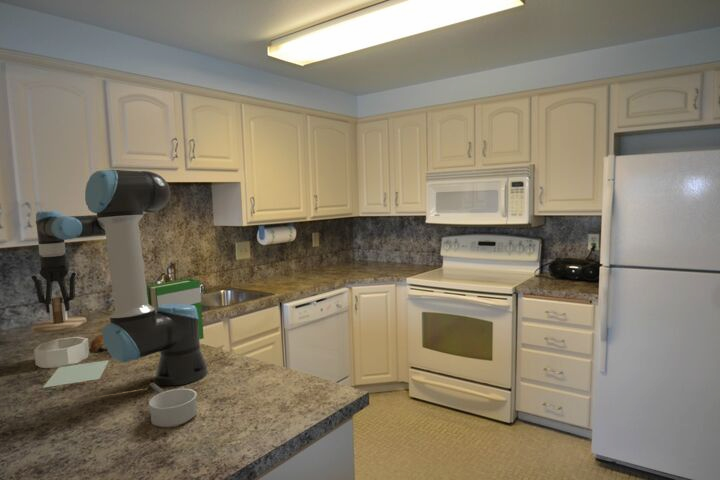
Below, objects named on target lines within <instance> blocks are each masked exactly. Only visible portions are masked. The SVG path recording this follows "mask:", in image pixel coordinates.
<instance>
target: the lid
mask: <svg viewBox="0 0 720 480" xmlns="http://www.w3.org/2000/svg"><path fill="white" fill-rule="evenodd" d="M51 301H52V302H51V303H53V313H54V322H52V323H51V319H46V320H42V321H40V322H37V323H35V324H33V325H31V331H32V332H33V333H39V334H45V333H46V334H47V333H48V334H49V333H56V332H63V331H68V330H72V329H75V328H79V327H81V326H83V325H86V323H87V318H86V317H84V316H78V315H77V316H67V317H68V319H67V320H66V321H63V314H62V304H61V303H62V302H63V301H64V300H63V297H61V296H59V297H57V296H56V297H53V298H51Z"/></svg>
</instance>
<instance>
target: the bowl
mask: <svg viewBox="0 0 720 480" xmlns="http://www.w3.org/2000/svg"><path fill="white" fill-rule="evenodd" d="M33 351H34V360H35V361H34V363H35V366H38V367H39V368H42V369H54V368H55V369H56V368H59V367H64V366H71V365H75V364H77V363H80V362H83V361H84V360H86V359H87V358H88V357H89V354H90V347H89V338H87V337H82V336H72V337H64V338H58V339H53V340H50V341H46V342H43V343H40V344H38V346H36V347H35V348H34V349H33Z"/></svg>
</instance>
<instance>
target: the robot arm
mask: <svg viewBox="0 0 720 480" xmlns="http://www.w3.org/2000/svg"><path fill="white" fill-rule="evenodd" d="M84 191H85V192H84V199H85V203H86V204H85V205H86V206H87V209H88V211H90V213H94V214H91V215H90V214H89V215H66V216H63V214H62V212H61V211H60V210H47V211H43V210H41V211H37V212H36V213H35V224H36V225H35V226H36V234H37V240H38V241H37V242H38V252H39V254H38V255H39V256H40V257H39V261H40V262H39V263H40V270H39V273H36V274H33V275H32V276H31V280H32V281H33V282H34V286H35V290H36V295H37V300H38V303H39V304H44V305H45V309H46V310H45V311H46V313H47V314H49V315H50V316H49V317H50V320H51V323H52V322H54V313H53V303H52V299H53V298H52V295H53V284H54V282H57V284H58V286H59V288H60V289H59V290H60V293H61V296H62V300H63V302H62V303H61V304H62V314H63V321H66V320H67V319H68V317H69V316H68V312H69V311H70V310H71V306H70V305H71V304H70V301H73V300H74V299H75V298H76V279H77V278H76V277H77V275H78V271H71V270H70V269H69V268H68V264H67V262H68V261H67V256H66V243H65V241H66V240H73V239H80V238H90V237H103V236H105V240H106V247H107V248H106V249H107V254H108V262H109V263H108V265H109V273H110V281H111V288H112V294H113V303H114V310H113V311H112V312H111V313H110V315H109V320H110V321H109V322H108V323H107V324H106V325H104V326H103V330H102V334H103V340H104V343H105V346H106V348H107V350H108V351H107V352H108V353H109V354H110V356H111V357H112V358H113V359H114V360H115V361H117V362H120V363H127V362H130V361H137V360H139V359H141V358H144V357H147V356H150V355H153V354H156V353H160V356H159V361H158V364H157V368H156V371H155V380H156V382H157V384H160V385H162V386H168V387H169V386H181V385H186V384H190V383H194V382H196V381H199V380H201V379H202V378H204V377H205V376H206V375H208V365H207V362H206V360H205V357H204V355H203V353H202V351H201V345H200V344H201V343H200V341H201V340H200V339H199V327H198V319H199V318H198V314H197V309H196V307H195V306H193V305H190V304H164V305H159V306H158V307H157V309H156V311H157V312H156V313H155V308H154V307H152V306H151V305H149V304H148V293H147V282H146V274H145V273H146V272H145V266H144V258H143V251H142V250H143V248H142V242H141V235H140V225H139V222H140V221H141V219H142V218H143V217H144V215H145V214H147V213H148V214H153V213H156V212H158V211H160V210H161V209H164V208H165V206H166V205H167V204H168V203H169V201H170V198H171V188H170V186H169V184H168V181H166V180H165V178H164V177H163V176H161V175H159V174H158V173H155V172H152V171H149V170H146V171H145V170H139V171H138V170H128V169H127V170H124V169H105V170H104V169H102V170H97V171H94V172H93V173H92V174H91V175H90V176H89V177H88V181H87V182H86V185H85V190H84ZM67 275H68V278H69V293H68V289H67V286H66V280H65V278H66V276H67ZM42 278H43V279H44V280H45V281H46V283H45V284H46V288H45V292H44V289H43V284H42V280H41V279H42Z"/></svg>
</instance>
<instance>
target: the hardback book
mask: <svg viewBox="0 0 720 480" xmlns="http://www.w3.org/2000/svg"><path fill="white" fill-rule="evenodd" d="M146 289H147V297H148V304H149V305H151V306H152V307H154V308H155V313H156V312H157V311H156V309H157V307H158V306H159V305H164V304H190V305H193V306H195V307H196V309H197V314H198V318H199V319H198V327H199V340H202V339H204V324H203V323H204V322H203V311H202V310H203V307H202V297H201V296H202V295H201V282H200V279H195V278H184V279H179V280H174V281H168V282H162V283H156V284H151V285H146Z"/></svg>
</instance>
